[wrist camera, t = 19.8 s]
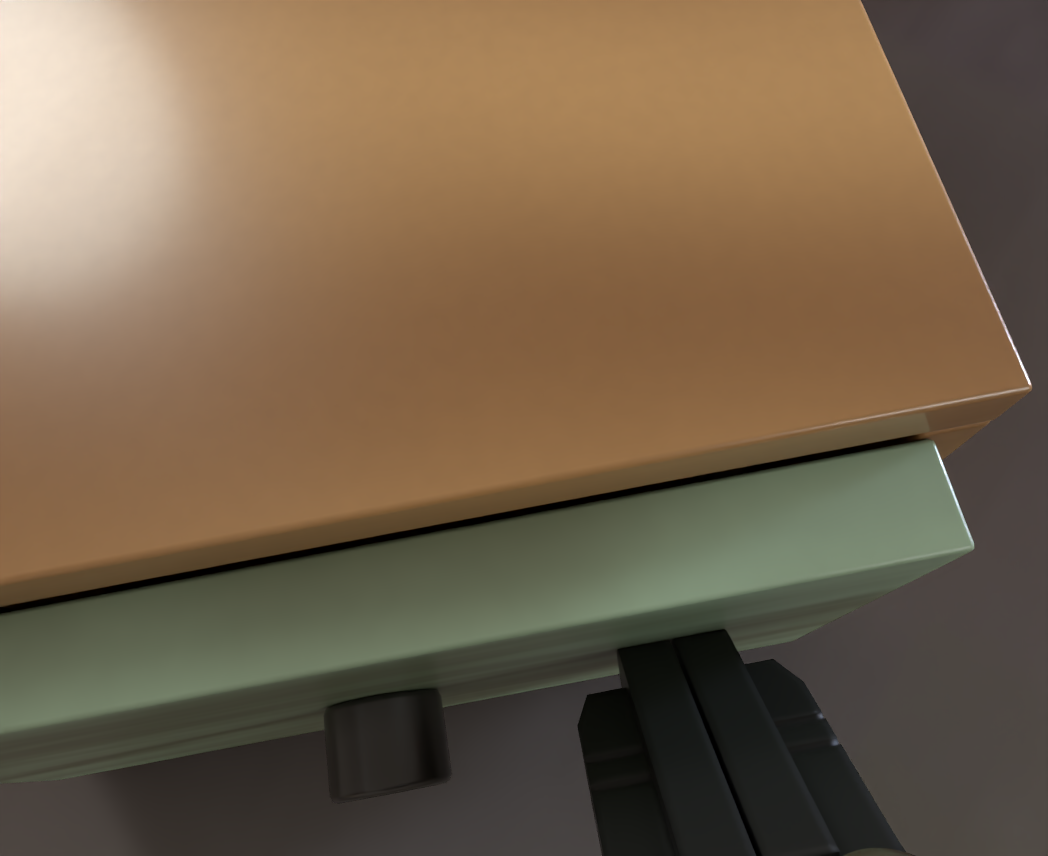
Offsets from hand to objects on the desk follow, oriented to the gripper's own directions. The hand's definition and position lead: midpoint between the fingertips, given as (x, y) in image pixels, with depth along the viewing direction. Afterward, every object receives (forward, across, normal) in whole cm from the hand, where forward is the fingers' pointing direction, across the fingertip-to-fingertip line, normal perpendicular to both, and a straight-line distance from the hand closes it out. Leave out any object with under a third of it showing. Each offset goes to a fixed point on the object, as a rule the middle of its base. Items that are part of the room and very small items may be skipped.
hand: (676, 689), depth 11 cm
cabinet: (+11, -4, +4) cm, 12 cm away
